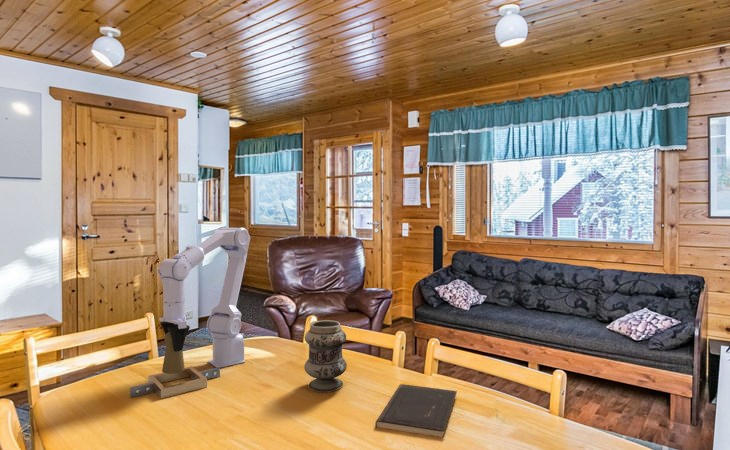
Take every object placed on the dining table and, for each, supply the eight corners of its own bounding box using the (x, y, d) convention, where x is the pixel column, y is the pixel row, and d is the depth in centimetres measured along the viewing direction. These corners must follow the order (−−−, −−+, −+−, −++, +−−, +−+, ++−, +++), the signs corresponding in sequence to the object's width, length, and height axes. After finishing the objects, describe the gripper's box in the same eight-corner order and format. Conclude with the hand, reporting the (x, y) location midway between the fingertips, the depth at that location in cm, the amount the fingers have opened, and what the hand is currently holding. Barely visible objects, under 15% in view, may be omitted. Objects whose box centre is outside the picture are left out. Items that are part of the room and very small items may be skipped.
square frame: (211, 370, 146) (211, 362, 146) (227, 382, 137) (227, 373, 136) (125, 389, 131) (124, 380, 131) (136, 404, 121) (136, 395, 121)
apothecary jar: (334, 374, 143) (334, 316, 142) (354, 388, 132) (354, 325, 132) (297, 382, 136) (297, 321, 135) (316, 397, 126) (316, 331, 125)
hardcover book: (456, 399, 127) (456, 390, 127) (444, 440, 105) (444, 430, 105) (398, 391, 132) (399, 383, 132) (375, 429, 110) (375, 419, 110)
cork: (178, 374, 131) (179, 335, 131) (157, 372, 132) (158, 334, 131) (188, 367, 137) (189, 329, 137) (168, 365, 138) (169, 328, 137)
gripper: (152, 298, 137) (153, 344, 137) (167, 307, 126) (168, 357, 126) (177, 295, 141) (177, 340, 142) (193, 304, 130) (194, 352, 131)
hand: (175, 348), depth 134 cm, fingers closed on cork, 5 cm apart
